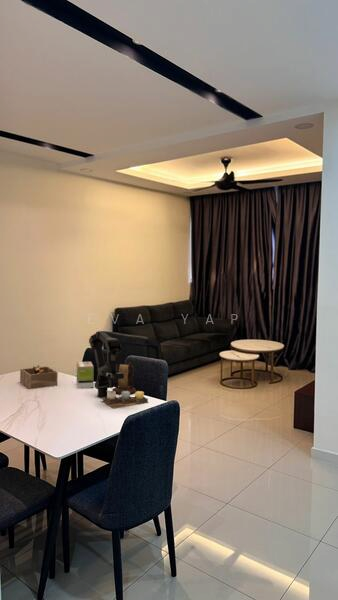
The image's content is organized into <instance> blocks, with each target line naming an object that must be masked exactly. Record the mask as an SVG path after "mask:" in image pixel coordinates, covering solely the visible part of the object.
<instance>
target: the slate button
mask: <svg viewBox="0 0 338 600" xmlns="http://www.w3.org/2000/svg"><path fill="white" fill-rule="evenodd" d="M120 397H121V399H123V400H127V399H130V397H131V394H130V392H129V391H123V392H121V394H120Z"/></svg>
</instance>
